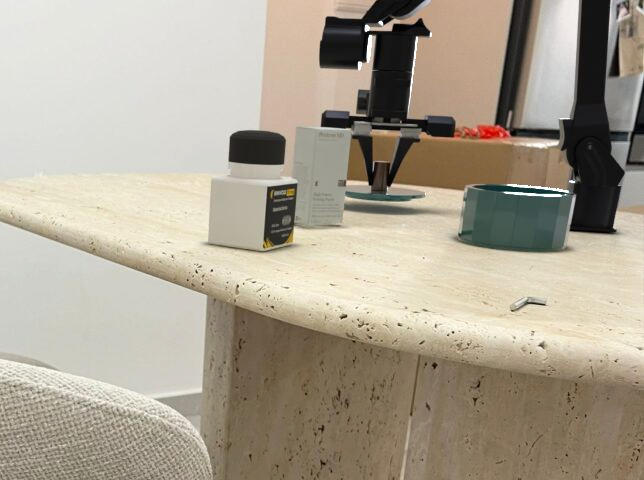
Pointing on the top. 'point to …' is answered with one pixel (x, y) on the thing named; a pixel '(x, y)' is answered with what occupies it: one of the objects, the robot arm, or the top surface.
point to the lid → (382, 187)
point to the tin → (516, 217)
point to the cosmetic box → (320, 175)
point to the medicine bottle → (253, 195)
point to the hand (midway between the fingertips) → (379, 186)
